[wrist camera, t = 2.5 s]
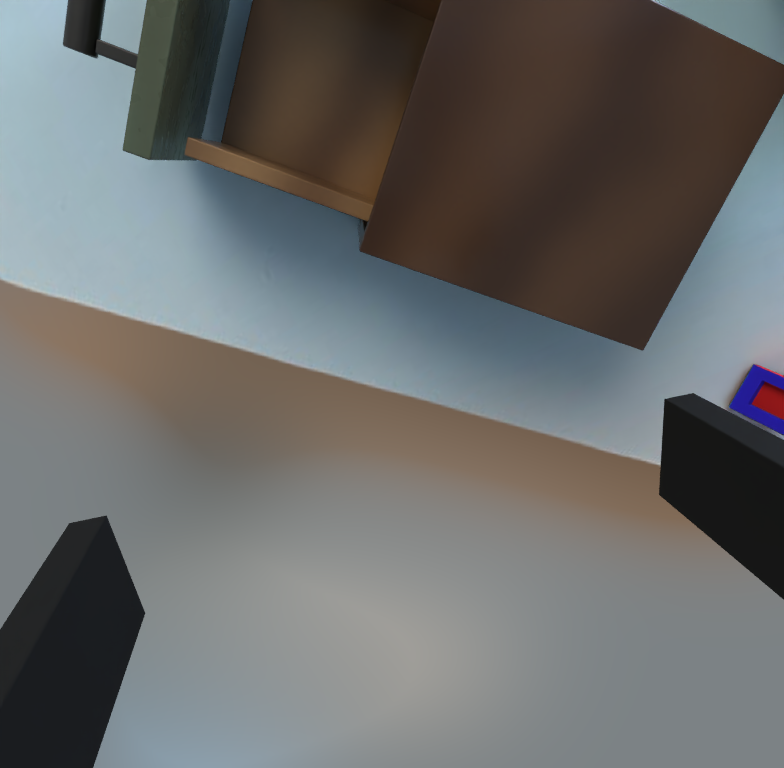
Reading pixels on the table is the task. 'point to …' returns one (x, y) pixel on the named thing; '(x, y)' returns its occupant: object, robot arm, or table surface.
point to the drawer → (273, 88)
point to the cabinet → (569, 155)
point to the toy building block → (762, 398)
